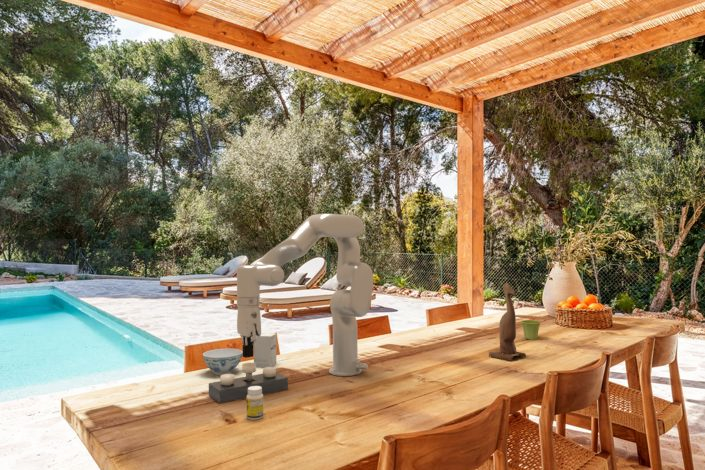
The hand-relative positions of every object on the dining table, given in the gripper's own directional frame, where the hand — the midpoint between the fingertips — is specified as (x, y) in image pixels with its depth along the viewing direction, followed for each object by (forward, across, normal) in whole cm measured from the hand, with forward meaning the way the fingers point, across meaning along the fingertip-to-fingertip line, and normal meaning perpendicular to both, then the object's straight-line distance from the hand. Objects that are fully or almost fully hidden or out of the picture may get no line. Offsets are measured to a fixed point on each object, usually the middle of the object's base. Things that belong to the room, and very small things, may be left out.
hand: (247, 356), depth 163 cm
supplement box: (+12, +30, -20) cm, 38 cm away
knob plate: (+12, 0, 0) cm, 12 cm away
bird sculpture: (+11, -22, -109) cm, 112 cm away
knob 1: (+11, 0, +7) cm, 13 cm away
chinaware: (+12, +30, -2) cm, 32 cm away
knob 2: (+11, 0, -8) cm, 13 cm away
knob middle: (+8, 0, 0) cm, 8 cm away
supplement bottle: (+12, -23, +8) cm, 27 cm away
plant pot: (+10, -4, -152) cm, 152 cm away
